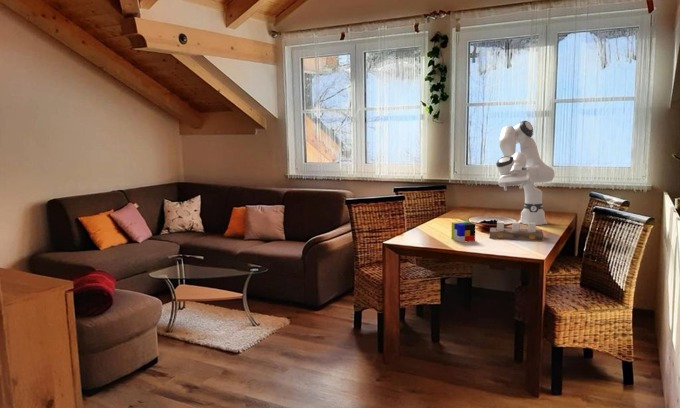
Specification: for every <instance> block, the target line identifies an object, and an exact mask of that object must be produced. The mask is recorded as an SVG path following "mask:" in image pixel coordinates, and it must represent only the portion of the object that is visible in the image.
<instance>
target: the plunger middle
mask: <svg viewBox="0 0 680 408" xmlns="http://www.w3.org/2000/svg"><path fill="white" fill-rule="evenodd" d="M520 225H521V223H520V222H518V221H512V226H511V227H512V228H511V229H512V231H515V232H520V229H521V228H520V227H521V226H520Z"/></svg>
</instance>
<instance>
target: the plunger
mask: <svg viewBox="0 0 680 408" xmlns="http://www.w3.org/2000/svg"><path fill="white" fill-rule="evenodd" d="M527 225H528V228H527V229H528V232H536V230H537V225H536V223H529V222H528V224H527Z"/></svg>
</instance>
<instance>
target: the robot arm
mask: <svg viewBox="0 0 680 408" xmlns="http://www.w3.org/2000/svg"><path fill="white" fill-rule="evenodd" d="M533 132H534V128H533V125H532V123H531V122H529V120H523V121H520V122H519V123H518V124H516V125H514V126H512V125H505V126H504V127H502V129H501V131H500V135H499V139H498V144H499V147H500V150H501V153H502V155H503V156H502V157H500V158H499V159H498V160H497V162H496V163H495V164H496V167H497V169H498V172H499V174H500V176H499V179H498V181H497V184H498V186H499V187H500V188H503V191H505V192H506V191H507V192H508V188H507V187H511V186H512V187H513V186H519V187H518V188H519V190H522V189H523V190H524V203H523V209H522V210H521V211H520V219H519V220H518V221H517V222H520V224H522V225H523V224H524V225H528V222H529V223H536V226H541V225H548V221H546V218H545V211H544V210H543V206H544V205H543V204H544V203H543V191H542V190H541V189H540V188H538V187H536V186H535V184H537V183H538V184H539V183H542V184H543V183H549V182H552V181H553V179H554V178H555V174H556V173H555V171H554V169H553V168H552V167H551V166H549V165H548V164H546V163H545V162H544V161H543V160H542V159H541V156H540V154H539V150H538V147H537V144H536V141H535V139H534V138H533V135H534V133H533ZM517 144H519V145H520V151H518V152H516V148H517V147H516V146H517Z"/></svg>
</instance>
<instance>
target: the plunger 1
mask: <svg viewBox="0 0 680 408" xmlns="http://www.w3.org/2000/svg"><path fill="white" fill-rule="evenodd" d="M496 228H497V231H504V228H505V221H499V220H497V221H496Z"/></svg>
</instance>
